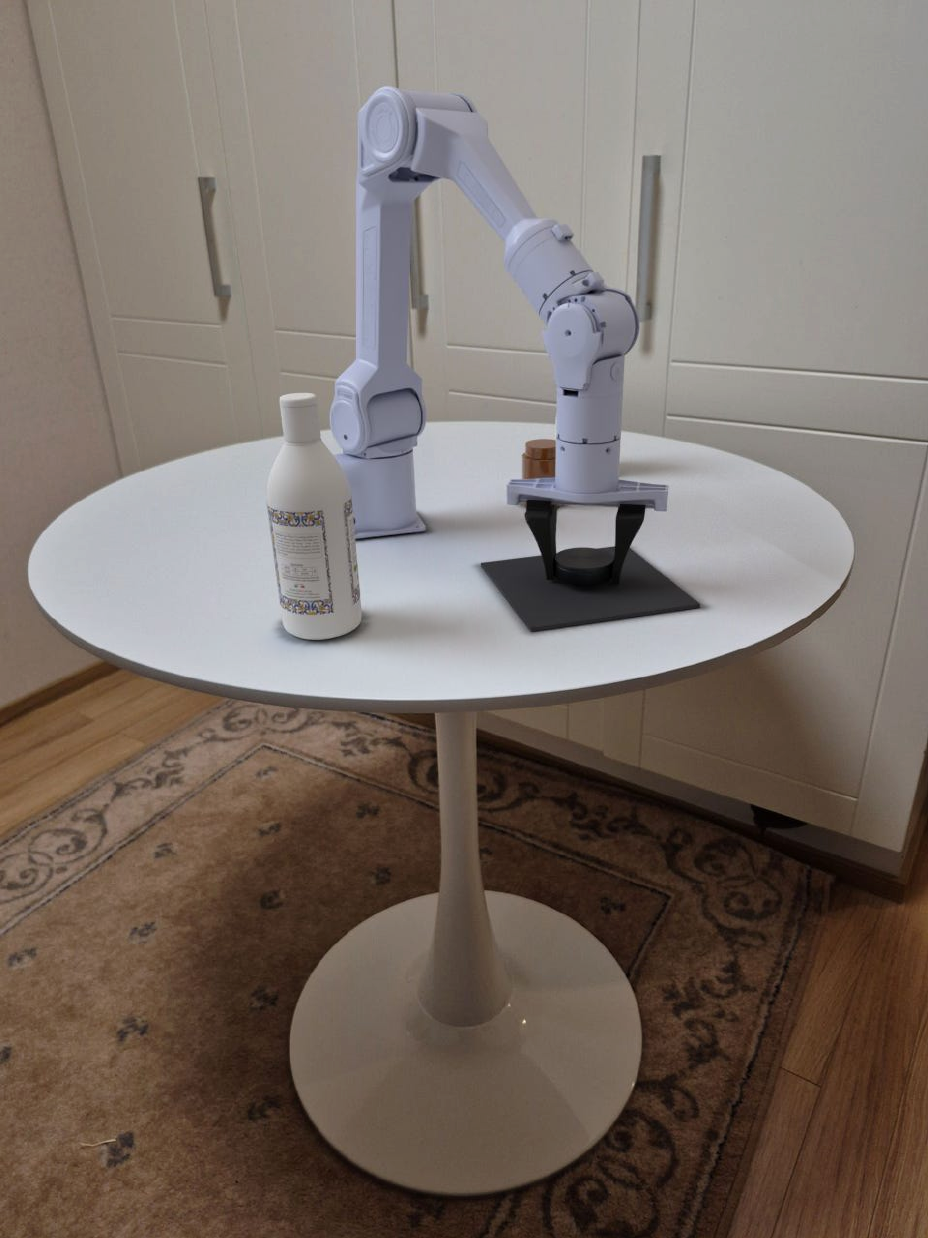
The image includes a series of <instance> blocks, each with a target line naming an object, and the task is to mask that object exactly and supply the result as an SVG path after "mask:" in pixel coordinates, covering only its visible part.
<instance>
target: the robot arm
mask: <svg viewBox="0 0 928 1238" xmlns="http://www.w3.org/2000/svg"><path fill="white" fill-rule="evenodd" d="M441 179H445V180H451V181H452V182H454V183H455V185H456V186H457V187H458V189H459V190H460V191H461V192H462V193H463V195H464V196H465V197H466V198H467V199H468V201H469V202H470V203H471V204H472V206H473V207H474V208H475V209H476V210H477V212H478V213H479V214H480V216H481V217H482V218H483V219H484V220H485V221H486V223H487V224H488V225H489V226H490V228H491V229H492V230H493V231H494V232H495V233H496V235H497V237H498V238H500V240H501V241H502V242H503V243H504V244H505V246H504V253H503V266H504V268H505V270H506V271H507V273H508V274H509V275H510V277H511V278H512V279H513V281H514V282H515V284H516V285H517V286H518V288H519V290H520V291H521V292H522V294H523V295H524V296H525V298H526V299H527V300H528V303H530V305H531V306H532V308H533V309H534V311H535V312H536V313H537V316H539V318H540V319H541V321H542V323H544V325H545V326H546V328H545V329H542V331H541V336H542V342H543V346H544V349H545V352H546V354H547V355H548V357H549V359H550V360H551V364H552V374H553V375H552V380H553V381H555V385H556V408H555V411H556V415H555V417H556V465H555V478H539V479H522V478H520V479H518V478H510V479H509V481H508V482H507V484H506V505H508V506H518V505H519V504H522V503H526V506H525V512H524V519H525V523H526V525H527V526H528V528H529V530H530V532H531V533H532V535H533V537H534V539H535V541H536V544H537V546H538V549H539V552H540V554H541V556H542V559H543V563H544V567H545V572H546V579H547V580H554V577H555V575H554V556H555V555H556V554H557V519H558V507H557V506H558V505H561V506H578V507H579V506H581V507H603V508H604V507H605V508H617V511H616V514H615V522H614V523H615V524H614V526H615V527H614V528H615V529H614V546H615V555H614V562H613V569H612V583H611V584H619V582H620V576H621V570H622V566H623V563H624V560H625V558H626V555H627V553H628V550H629V548H630V549H631V546H632V544H633V542H634V540H635V538H636V536H637V535H638V533H639V531H640V529H641V528H642V525H643V523H644V521H645V516H646V509H650V510H651V509H652V510H654V511H655V512H667V511H668V510H667V509H668V496H669V484H658V483H649V482H643V481H634V480H628V479H620V460H621V459H620V458H621V439H622V438H621V437H622V418H623V402H624V401H623V400H624V399H623V398H624V397H623V396H624V379H625V378H624V377H625V357H626V355H628V354H629V353H630V352H631V350H633V349H634V347H635V345H636V344H637V341H638V338H639V333H640V325H641V324H640V316H639V312H638V310H637V308H636V306H635V304H634V302H633V300H632V297H631V295H630V294H629V293H628V292H626V291H625V290H622V289H619V288H616V287H609V286H607V284H606V283H605V279H604V277H603V276H602V275H601V274H600V272H598V271H594V269H593V268H592V267H591V265H590V264H589V263H588V261H587V260H586V258H585V257H584V256H583V254H582V253H581V252H580V250H579V249H578V247H577V246H576V244H574V242H573V241H572V239H573V238H574V237H575V234H574V231H572V229H571V228H570V226H569V225H568V224H567V223H560V222H559V221H558V220H556V219H555V218H550V217H549V218H548V217H546V218H545V217H544V218H538V216H537V214H536V213H535V211H534V210H533V208H532V206H531V205H530V203H529V201H528V200H527V199H526V197H525V195H524V194H523V192H522V190H521V188H520V187H519V186H518V184H517V182H516V180H515V179H514V177H513V176H512V174H511V172H510V171H509V169H508V167H507V165H506V164H505V163H504V161H503V159H502V158H501V156H500V155H499V153H498V152H497V150H496V148H495V147H494V144H492V142H491V140H490V138H489V123H488V120H487V119H486V118H485V117H484V116H483V115H482V114H481V113H479V112H478V110H477V108H476V105H475V104H474V102H473V101H472V100H471V99H470V98H469V97H468V96H467V95H465V94H462V93H459V92H450V93H440V92H431V91H423V90H410V89H402V88H399V87H396V86H391V85H385V86H382V87H379V88H378V89H377V90H375V91H374V92H373V93H372V94H371V95H370V97H369V99H368V100H366V102H365V103H364V104H363V106H362V107H361V108H360V109H359V111H358V112H357V169H356V181H355V234H356V235H355V236H356V237H355V359H354V360H353V362H352V363H351V364H350V365H349V366H348V367H347V368H346V369H345V370H344V371H343V372H342V373H341V375H339V377H337V379H336V380H335V381H334V396H333V401H332V403H331V406H330V409H329V417H328V418H329V429H330V432H331V435H332V437H333V439H334V440H335V442H336V444H337V445H338V446H339V448H341V450H342V453H341V452H340V453H336V454H333V456H334V457H335V458H336V460H337V461H338V463H339V464H340V466H341V467H342V469H343V471H344V473H345V475H346V478H347V480H348V484H349V487H350V492H351V497H352V508H353V519H354V531H355V540H356V539H365V538H374V537H382V536H391V535H400V534H408V533H419V532H425V531H426V530H427V526H426V524H425V523H424V522H423V520H422V519H421V517H420V516H419V514H418V512H417V501H416V500H417V499H416V498H417V497H416V480H415V464H414V463H415V461H414V448H415V447H417V446H418V438H419V437H420V436H421V435H422V434H423V432H424V431H425V427H426V425H427V408H426V404H425V400H424V398H423V387H422V386H423V379H422V377H421V376H420V375H419V374H418V373H417V372H416V371H415V370H414V369H413V368H412V367H411V366H410V365H409V364H408V363H407V362H408V336H409V335H408V333H409V305H410V304H409V302H410V274H411V273H410V270H411V269H410V268H411V244H412V243H411V242H412V241H411V240H412V239H411V238H412V237H411V236H412V211H413V210H412V209H413V208H412V206H413V202H414V201H415V200H416V199H417V198H418V197H419V196H420V195H421V194H422V193H424V191H425V190H426V189H428V187H430V185H431V184H432V183H434V182H437V181H439V180H441Z"/></svg>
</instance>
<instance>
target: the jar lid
mask: <svg viewBox="0 0 928 1238" xmlns="http://www.w3.org/2000/svg"><path fill="white" fill-rule="evenodd" d="M613 562H614V557H613V555H612V554H610V553H609V552H607V551H604V550H600V549H597V548H595V547H587V546H586V547H583V546H582V547H581V546H580V547H579V546H578V547H570V548H566V549H563V550H560V551H558V552H556V555H555V556H554V575H555V577H556V578H557V579H558V580H560V581H562V582H565V583H569V584H573V585H597V584H601V583H605V582H607V581H609V580H610V579H612V569H613Z"/></svg>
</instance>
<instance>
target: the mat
mask: <svg viewBox="0 0 928 1238" xmlns="http://www.w3.org/2000/svg"><path fill="white" fill-rule="evenodd" d="M596 549H600V550H604V551H607V552H609V553H610V554H612V555H613V557H614V555H615V545H614V546H606V547H599V548H598V547H597V548H596ZM480 567H481V569H482V570H483V571H484V572H485V574H486V576H487V577H488V578H489V579H490V580H491V582H492V583H493V584H494V586H495V587H496V588H497V590H498V591H499V593H501V595H502V597H504V598H505V600H506V602H507V603H508V604H509V605H510V607H511V608H512V609H513V610H514V612H515V613H516V615H517V616H518V617H519V618H520V620H521V621H522V622H523V623H524V625H525V626H526V628H527V629H528V630H529V632H537V631H545V630H546V631H547V630H553V629H558V628H566V627H572V626H580V625H586V624H595V623H602V622H608V621H615V620H622V619H628V618H635V617H642V616H643V617H644V616H651V615H656V614H664V613H671V612H678V611H685V610H692V609H699V608H700V607H701V603H700V602H699V601H698V600H696V599H695V598H694V597H692V596H691V595H690V594H689V593H688V592H686V591H685V590H684V589H682V588H681V587H680V586H678V585H677V584H676V583H675V582H674V581H672V580H671V579H670V578H668V577H667V576H666V575H664V573H662V572H661V571H660V570H658V569H657V568H656V567H655V566H653V565H652V564H650V562H648V561H647V560H645V559H644V558H643V557H642V556H641V555H639V554H638V553H637V552H636V551H634V550H633V549H632V548H631V547H630V548H629V550H628V553H627V555H626V558H625V560H624V563H623V566H622V570H621V576H620V582H619V584H611V583H612V579H610V580H609V581H607V582H605V583H601V584H597V585H573V584H569V583H565V582H562V581H560V580H558V579H557V578H556V577H554V580H547V579H546V572H545V567H544V563H543V559H542V556H541V555H533V556H525V557H516V558H509V559H508V558H507V559H500V560H493V561H485V562H484V561H483V562H480Z"/></svg>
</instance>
